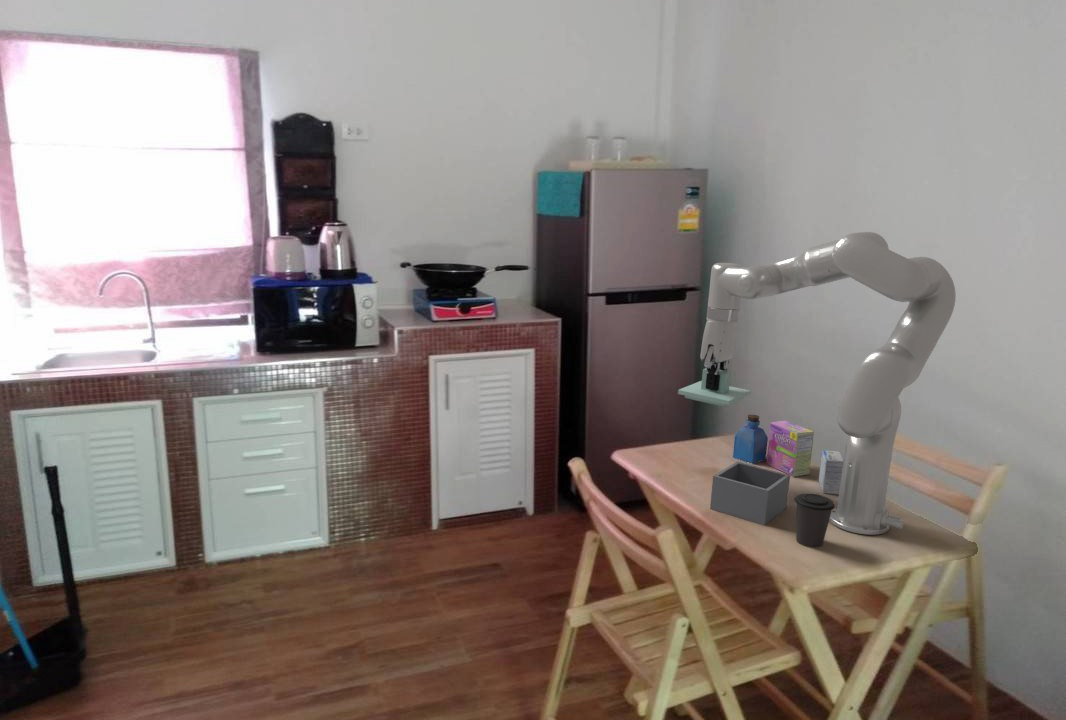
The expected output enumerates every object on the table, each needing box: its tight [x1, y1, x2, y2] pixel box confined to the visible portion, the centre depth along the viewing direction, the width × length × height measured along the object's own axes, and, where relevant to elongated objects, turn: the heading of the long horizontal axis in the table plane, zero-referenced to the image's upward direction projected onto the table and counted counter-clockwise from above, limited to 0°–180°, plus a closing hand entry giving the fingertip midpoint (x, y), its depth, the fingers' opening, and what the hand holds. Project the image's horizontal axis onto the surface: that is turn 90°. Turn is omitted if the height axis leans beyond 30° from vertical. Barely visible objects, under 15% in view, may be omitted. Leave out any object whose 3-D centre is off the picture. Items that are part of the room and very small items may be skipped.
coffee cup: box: [793, 493, 836, 548], centre depth 170 cm, size 8×8×10 cm
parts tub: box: [709, 461, 791, 526], centre depth 187 cm, size 13×13×8 cm
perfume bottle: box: [732, 414, 769, 464], centre depth 220 cm, size 6×6×12 cm
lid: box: [677, 367, 752, 408], centre depth 200 cm, size 13×13×7 cm
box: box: [766, 420, 815, 478], centre depth 213 cm, size 10×6×12 cm, turn 25°
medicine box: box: [818, 450, 844, 496], centre depth 201 cm, size 8×4×9 cm, turn 168°
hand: (715, 387), depth 200 cm, fingers closed on lid, 3 cm apart
